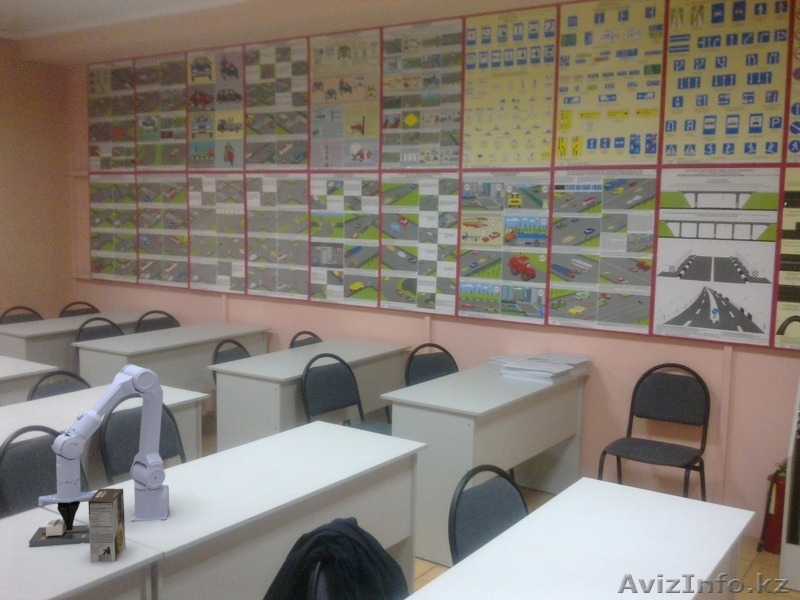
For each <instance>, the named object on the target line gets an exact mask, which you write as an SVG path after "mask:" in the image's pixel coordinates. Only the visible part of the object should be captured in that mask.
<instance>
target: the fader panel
mask: <svg viewBox="0 0 800 600" xmlns="http://www.w3.org/2000/svg"><path fill="white" fill-rule="evenodd" d="M28 543H29V547H30V548H32V547H34V548H35V547H50V546H67V545H68V546H69V545H79V544H81V543H84V544H90V531H89V524H82V525H81V524H80V525H73V529H72V530H69V531H67V530H65V531H64V533H63V535H53V536H46V526H40V527H38V529H37V530H36V531H35V532H34V534H33V535H32V537H31V538H30V540H29V541H28Z"/></svg>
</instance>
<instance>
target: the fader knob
mask: <svg viewBox="0 0 800 600" xmlns="http://www.w3.org/2000/svg"><path fill="white" fill-rule="evenodd" d="M45 527H46V536H53V535H63V533H64V531H65V530H66V525H65V522H64V520H63V518H56V519H50V520H49V521H48V523H47V524H46V526H45Z"/></svg>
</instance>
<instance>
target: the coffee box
mask: <svg viewBox="0 0 800 600" xmlns="http://www.w3.org/2000/svg"><path fill="white" fill-rule="evenodd" d="M95 492H96V493H95V494H94V495H93V496H92V498H91V499H90V500H89V501H88V503H87V504H88V525H89V531H90V543H89V551H90V553H89V554H90V564H92V563H93V564H95V562H96V563H115V562H117V561H118V560H119V558H120V557H121V555H122V553H123V552H124V551H125V549H126V528H125V527H126V525H125V522H126V521H125V520H126V519H125V499H124V497H125V496H124V488H99V489H97V491H95Z"/></svg>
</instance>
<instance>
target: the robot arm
mask: <svg viewBox="0 0 800 600" xmlns="http://www.w3.org/2000/svg"><path fill="white" fill-rule="evenodd" d="M136 393H137V394H138V395H140V397H141V398H142V405H141V419H140V431H139V432H140V433H139V444H138V445H139V446H138V453H136V454H135V456H134V458H133V462H132V465H131V467H130V470H129V476H130V478H131V479H132V480H133V481H134V482H133V483H134V487H133V488H134V490H133V491H134V513H133V515H132V518H131V522H144V521H145V522H146V521H149V522H150V521H166V520H167V519H168V515H169V513H170V507H171V506H170V487H169V485H167V484H163V483H164V482H165V479H166V472H165V469H164V461H163V459H162V457H161V455H160V439H161V426H162V413H163V402H164V401H163V400H164V391H163V388H162V386H161V384H160V382H159V375H158V374H157V373H155V372H154V371H153V370H152V369H150V368H145V367H141V366H138V365H137V364H133V363H131V364H130V363H129V364H127V365H125V366H124V367H122V369H120V371H119V372H118V373H117V374H115V377H114V378H113V381H112V382H111V384H110V385H109V387H107V388H106V390H105V391H104V393H102V395H101V397H100V398H99V399H98V400H97V402H96V403H95V404H94V405H93V407H92V408H91V409H89V410H84V411H82V412H81V413H78V414H77V415H76V419H75V421H73V423H72V424H71V425H70V426H69V428H68V429H67V428H66V429H65V430H64V431H63V433H62V434H59V435H58V436H57V437H56V438H55V439H54V441H53V443H52V445H51V449H52V451H53V452H54V453H55V455H56V457H55V458H56V459H55V460H56V463H55V465H56V467H55V468H56V493H54V494H48V495H41V496H39V497H38V500H37V501H38V507H42V506H45V505H57V508H56V509H57V511H58V512H59V514H60V515H61V517H62V518H61V519H63V520H64V522H65V525H66V530H67V531H69V530H72V529H73V526H74V521H75V517H76V514H77V511H78V509H79V507H80V504H81V503H85V502H86V503H87V502H88V501H89V500H90V499H91V498H92V496H93V495H94V494H95V493H96V492H97V491H94V492H90V491H89V492H88V491H81V459H80V456H81V455H82V454H83V452H84V449H85V444H86V442H88V440H89V439H90V438H91V437H92V435H93V434H94V433H95V432H96V431H97V430H98V428H100V426H101V425H102V418H103V416H105V415H106V413H108V412H109V410H110V409H111V408H112V407H113V406H114V405H115V404H116V403H117V402H118V401H119V400H120V399H121V398H122V397H123V396H128V395H133V394H136Z"/></svg>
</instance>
